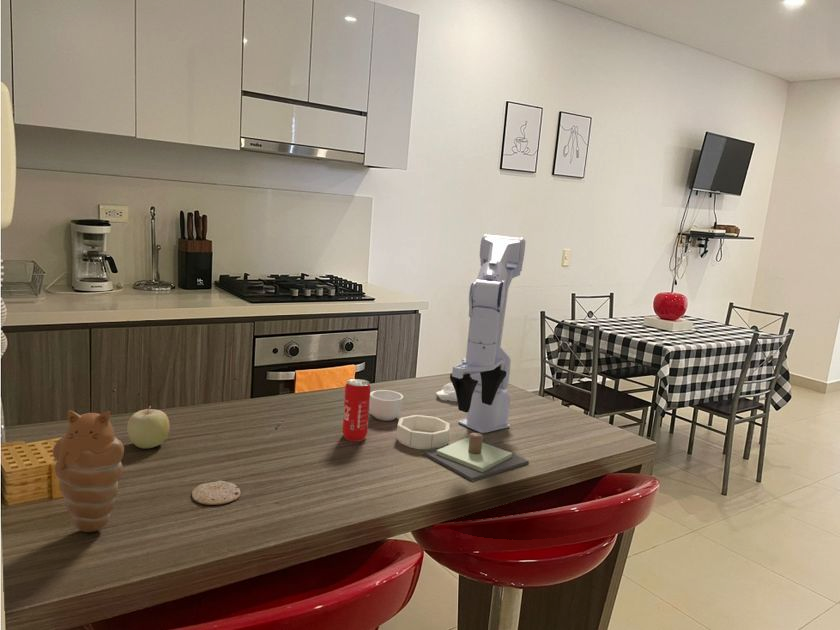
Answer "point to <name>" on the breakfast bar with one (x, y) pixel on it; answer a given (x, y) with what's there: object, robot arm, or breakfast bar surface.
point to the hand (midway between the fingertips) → (475, 407)
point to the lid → (474, 453)
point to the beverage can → (356, 409)
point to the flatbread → (216, 493)
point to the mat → (473, 473)
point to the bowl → (422, 432)
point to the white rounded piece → (447, 393)
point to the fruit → (148, 428)
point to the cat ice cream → (89, 469)
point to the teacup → (385, 404)
